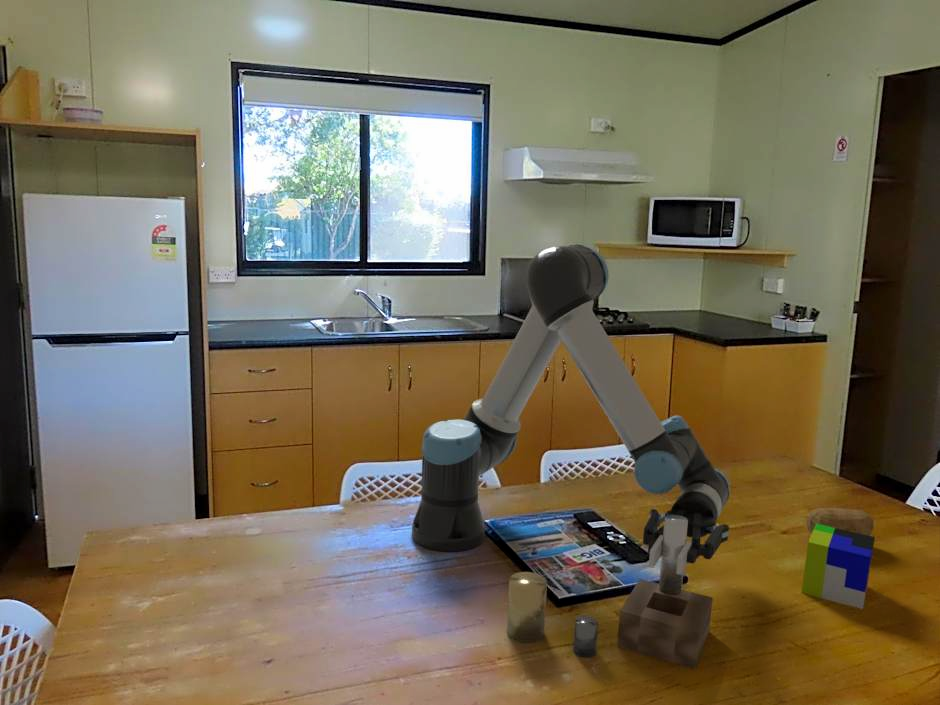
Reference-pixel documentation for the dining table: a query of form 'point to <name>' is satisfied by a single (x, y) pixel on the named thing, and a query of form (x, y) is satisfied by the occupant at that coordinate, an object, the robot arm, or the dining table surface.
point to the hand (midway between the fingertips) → (665, 562)
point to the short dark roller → (585, 636)
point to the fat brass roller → (526, 607)
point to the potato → (841, 520)
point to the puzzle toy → (838, 565)
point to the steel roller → (672, 554)
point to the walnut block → (665, 623)
